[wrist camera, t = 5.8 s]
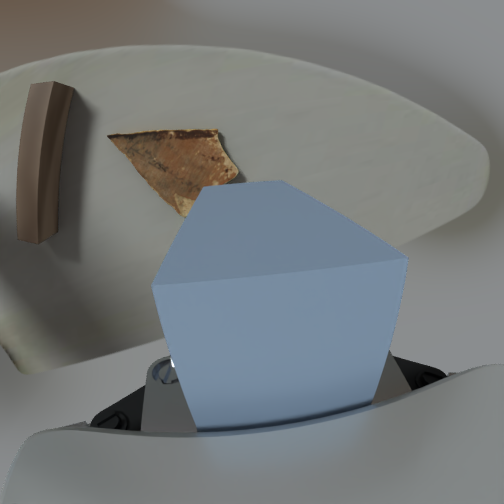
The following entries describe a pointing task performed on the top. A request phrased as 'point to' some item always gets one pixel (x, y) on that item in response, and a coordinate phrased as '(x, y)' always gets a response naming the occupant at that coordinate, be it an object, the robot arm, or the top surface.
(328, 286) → the block
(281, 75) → the top surface
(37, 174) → the bar
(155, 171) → the shard
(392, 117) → the top surface
